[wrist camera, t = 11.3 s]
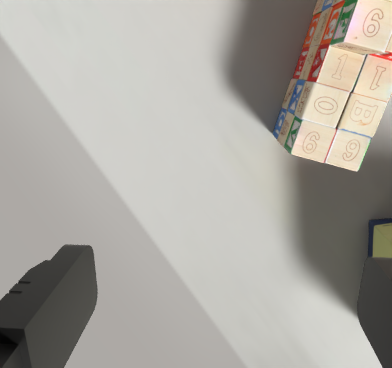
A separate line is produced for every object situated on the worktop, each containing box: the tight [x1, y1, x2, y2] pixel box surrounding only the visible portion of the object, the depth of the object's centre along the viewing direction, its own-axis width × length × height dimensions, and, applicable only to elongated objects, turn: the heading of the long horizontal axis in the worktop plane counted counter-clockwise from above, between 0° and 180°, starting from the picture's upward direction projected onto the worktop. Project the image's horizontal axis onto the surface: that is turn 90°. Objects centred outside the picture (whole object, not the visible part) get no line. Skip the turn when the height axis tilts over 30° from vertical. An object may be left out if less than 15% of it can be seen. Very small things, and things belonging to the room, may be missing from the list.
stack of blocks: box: [273, 0, 392, 172], centre depth 29 cm, size 21×6×12 cm, turn 165°
